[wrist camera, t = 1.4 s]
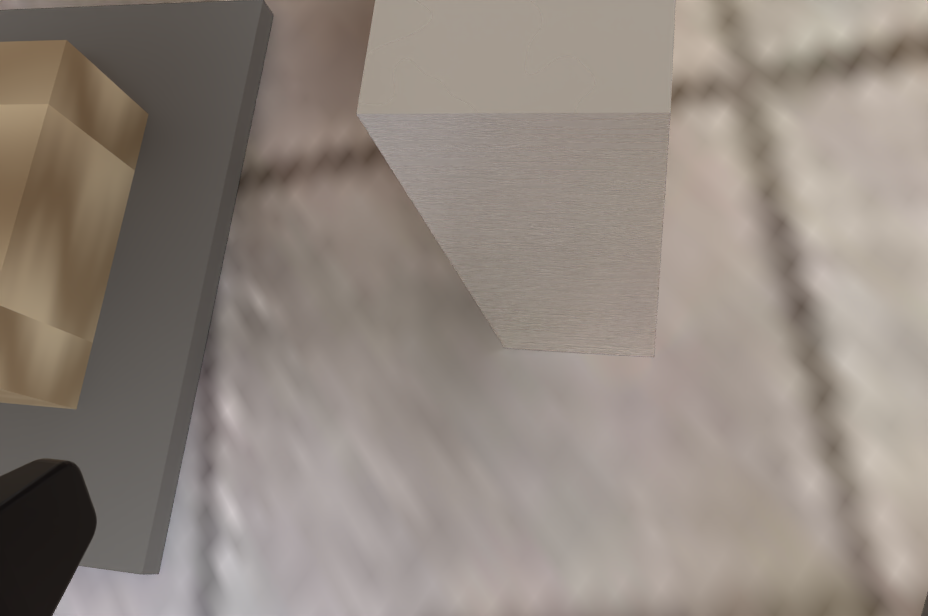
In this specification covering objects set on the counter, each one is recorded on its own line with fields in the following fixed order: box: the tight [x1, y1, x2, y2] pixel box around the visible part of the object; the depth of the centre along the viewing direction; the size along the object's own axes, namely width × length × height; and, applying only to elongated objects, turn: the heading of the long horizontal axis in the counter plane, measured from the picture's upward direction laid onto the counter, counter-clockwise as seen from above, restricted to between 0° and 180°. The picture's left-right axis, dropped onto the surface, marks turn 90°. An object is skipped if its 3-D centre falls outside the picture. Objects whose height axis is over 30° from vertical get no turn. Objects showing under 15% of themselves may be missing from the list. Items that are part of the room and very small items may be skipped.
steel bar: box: [356, 0, 676, 357], centre depth 17 cm, size 4×4×12 cm
